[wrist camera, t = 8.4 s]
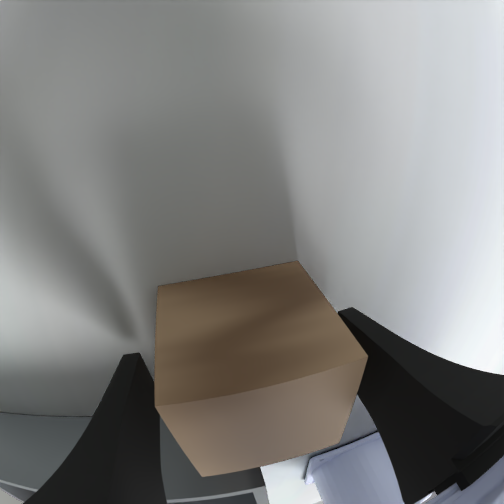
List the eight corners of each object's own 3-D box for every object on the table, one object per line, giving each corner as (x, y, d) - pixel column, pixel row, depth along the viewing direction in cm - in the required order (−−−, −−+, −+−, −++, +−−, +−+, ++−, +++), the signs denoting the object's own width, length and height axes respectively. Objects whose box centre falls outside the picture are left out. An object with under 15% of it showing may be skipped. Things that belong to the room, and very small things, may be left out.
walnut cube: (296, 259, 11) (368, 356, 6) (295, 354, 13) (339, 442, 9) (158, 285, 10) (154, 406, 6) (187, 376, 12) (202, 476, 8)
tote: (240, 398, 14) (265, 485, 9) (258, 475, 20) (273, 523, 15) (-12, 410, 11) (-27, 469, 6) (79, 486, 17) (79, 529, 13)
